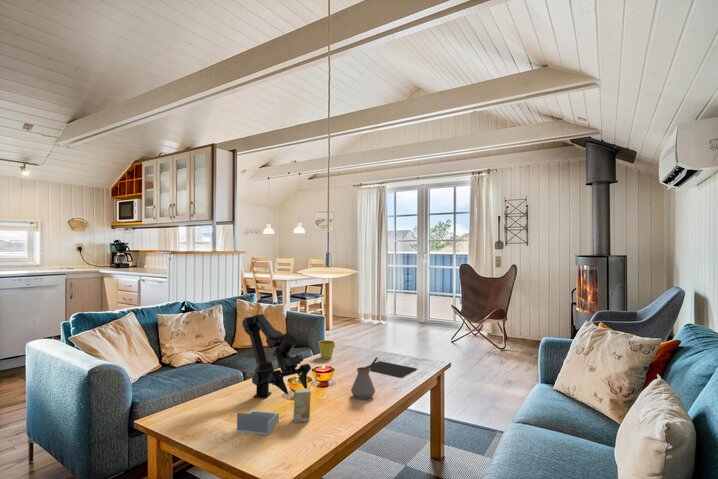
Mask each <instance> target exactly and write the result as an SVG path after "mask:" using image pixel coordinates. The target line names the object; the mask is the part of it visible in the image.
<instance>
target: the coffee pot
mask: <svg viewBox="0 0 718 479" xmlns="http://www.w3.org/2000/svg"><path fill="white" fill-rule="evenodd" d="M378 361H380V358H378V357H375V359H373V361H372V362H371V364H369V365H370V367H369V368H366V367H367V366H363V367H358V368H356V371H357V375H356V377H355V380H354V382H353V384H352V387H351V389H350V391H351V394H352V395H353V396H354V397H355V398H356V399H358V400H367V399H371V398H372V397H373V396H374V394H375V392H376V388H375V386H374V384H373V381H372V379H371V376H370V372H371V371H370V369H371V368H372V366H373V365H374V364H375V363H376V362H378Z"/></svg>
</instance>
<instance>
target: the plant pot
mask: <svg viewBox="0 0 718 479" xmlns="http://www.w3.org/2000/svg"><path fill="white" fill-rule="evenodd" d="M335 344H336V342H335V341H333V340H325V339H323V340H319V341H318V348H319V353H320V358H321V359H324V360H326V359H327V360H328V359H329V358H330V359H331V358H333V357H332V356H333V352H334V349H335V347H336V346H335Z"/></svg>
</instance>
